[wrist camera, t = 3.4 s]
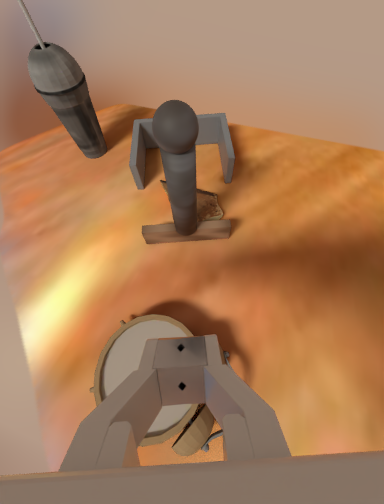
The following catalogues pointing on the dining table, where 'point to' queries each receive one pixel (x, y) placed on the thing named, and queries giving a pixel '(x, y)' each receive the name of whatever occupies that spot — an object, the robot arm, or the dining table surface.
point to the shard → (204, 205)
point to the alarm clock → (128, 359)
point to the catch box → (210, 132)
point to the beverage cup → (65, 92)
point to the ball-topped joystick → (180, 177)
